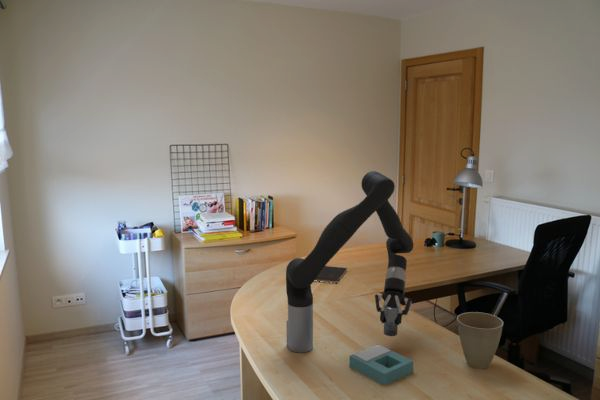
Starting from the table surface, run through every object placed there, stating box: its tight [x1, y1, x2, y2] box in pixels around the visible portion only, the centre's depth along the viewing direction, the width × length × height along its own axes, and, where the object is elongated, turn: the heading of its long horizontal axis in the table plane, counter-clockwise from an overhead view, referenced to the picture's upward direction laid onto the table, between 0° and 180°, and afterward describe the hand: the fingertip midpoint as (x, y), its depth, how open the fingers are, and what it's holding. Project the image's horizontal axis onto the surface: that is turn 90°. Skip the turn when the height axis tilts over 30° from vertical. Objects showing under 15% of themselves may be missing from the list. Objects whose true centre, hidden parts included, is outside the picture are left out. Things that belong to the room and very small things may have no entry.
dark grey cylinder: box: [383, 305, 399, 337], centre depth 187 cm, size 5×5×10 cm
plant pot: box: [456, 311, 504, 370], centre depth 175 cm, size 15×15×16 cm
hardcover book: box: [315, 265, 348, 284], centre depth 273 cm, size 16×23×2 cm
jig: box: [349, 344, 414, 387], centre depth 172 cm, size 16×14×5 cm
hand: (390, 323), depth 185 cm, fingers closed on dark grey cylinder, 5 cm apart
